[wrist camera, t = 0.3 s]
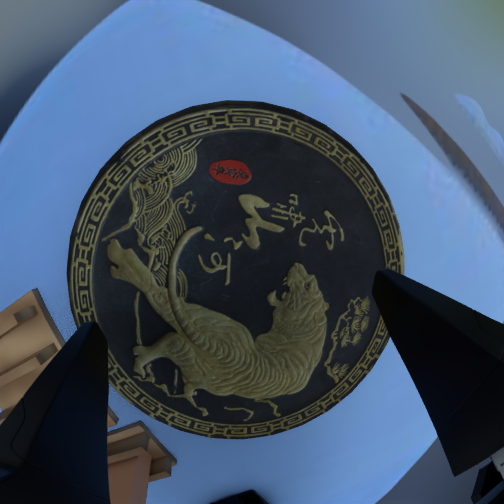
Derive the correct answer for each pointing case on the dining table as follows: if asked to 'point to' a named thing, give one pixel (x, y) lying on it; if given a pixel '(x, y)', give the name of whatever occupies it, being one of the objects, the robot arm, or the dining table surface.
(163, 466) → the holder
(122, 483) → the wooden block
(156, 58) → the dining table surface
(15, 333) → the rack
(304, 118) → the decorative plate
